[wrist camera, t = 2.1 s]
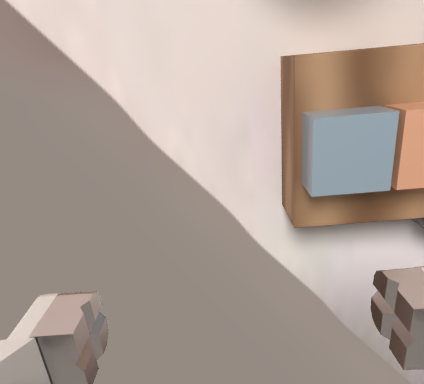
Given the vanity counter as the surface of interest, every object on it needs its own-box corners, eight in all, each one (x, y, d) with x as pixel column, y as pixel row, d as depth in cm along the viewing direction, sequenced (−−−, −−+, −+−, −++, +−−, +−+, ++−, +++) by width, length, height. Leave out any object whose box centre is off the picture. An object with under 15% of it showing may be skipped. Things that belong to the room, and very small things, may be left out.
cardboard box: (430, 42, 25) (475, 39, 21) (409, 193, 29) (442, 215, 25) (280, 56, 25) (295, 55, 21) (282, 203, 29) (294, 227, 25)
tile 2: (379, 105, 22) (399, 111, 20) (372, 177, 24) (390, 190, 21) (302, 112, 22) (313, 118, 20) (301, 183, 24) (311, 196, 22)
